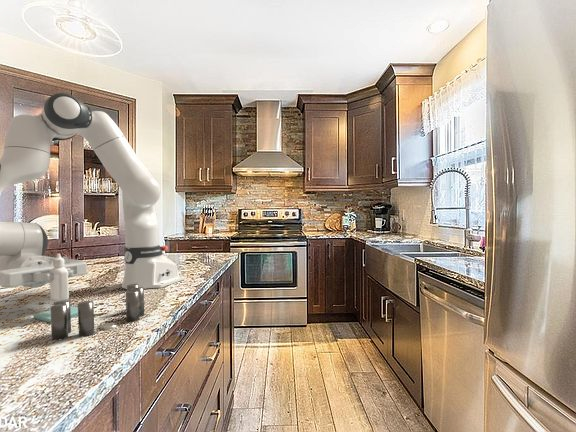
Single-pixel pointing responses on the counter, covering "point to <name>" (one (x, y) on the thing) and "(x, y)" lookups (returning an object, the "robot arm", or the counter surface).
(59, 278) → the eye dropper bottle
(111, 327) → the grey flat disc
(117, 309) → the counter surface
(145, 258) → the robot arm
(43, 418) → the counter surface
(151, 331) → the counter surface
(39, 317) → the pad
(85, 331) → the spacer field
